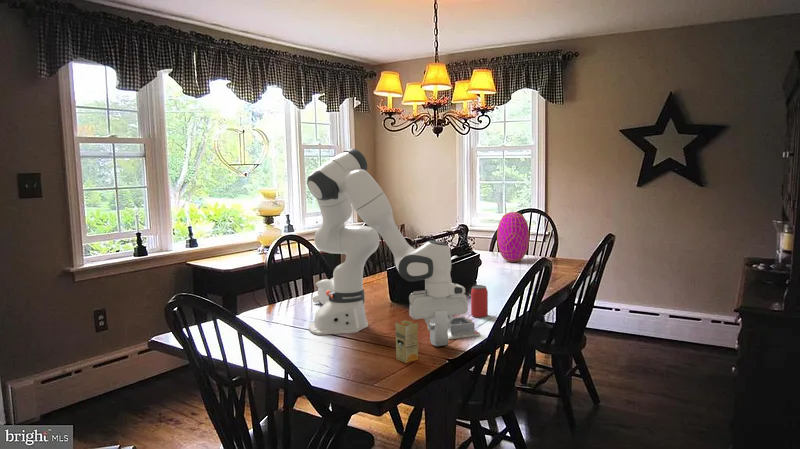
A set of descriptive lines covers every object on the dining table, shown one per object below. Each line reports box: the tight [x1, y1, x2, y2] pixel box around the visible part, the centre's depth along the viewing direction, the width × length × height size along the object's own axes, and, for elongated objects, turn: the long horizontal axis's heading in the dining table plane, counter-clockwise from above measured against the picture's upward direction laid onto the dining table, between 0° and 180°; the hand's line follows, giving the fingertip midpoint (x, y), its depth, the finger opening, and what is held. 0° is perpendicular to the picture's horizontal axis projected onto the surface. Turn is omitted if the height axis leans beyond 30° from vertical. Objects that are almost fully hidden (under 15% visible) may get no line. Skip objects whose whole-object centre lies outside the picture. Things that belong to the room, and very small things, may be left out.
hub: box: [448, 316, 481, 341], centre depth 205 cm, size 12×12×4 cm
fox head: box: [311, 277, 334, 306], centre depth 249 cm, size 13×17×20 cm
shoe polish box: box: [395, 319, 419, 364], centre depth 179 cm, size 5×5×12 cm
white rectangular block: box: [429, 310, 449, 347], centre depth 191 cm, size 5×5×12 cm
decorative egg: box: [496, 211, 530, 263], centre depth 340 cm, size 19×19×30 cm
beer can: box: [470, 284, 489, 319], centre depth 226 cm, size 7×7×12 cm
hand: (438, 328), depth 191 cm, fingers closed on white rectangular block, 5 cm apart
